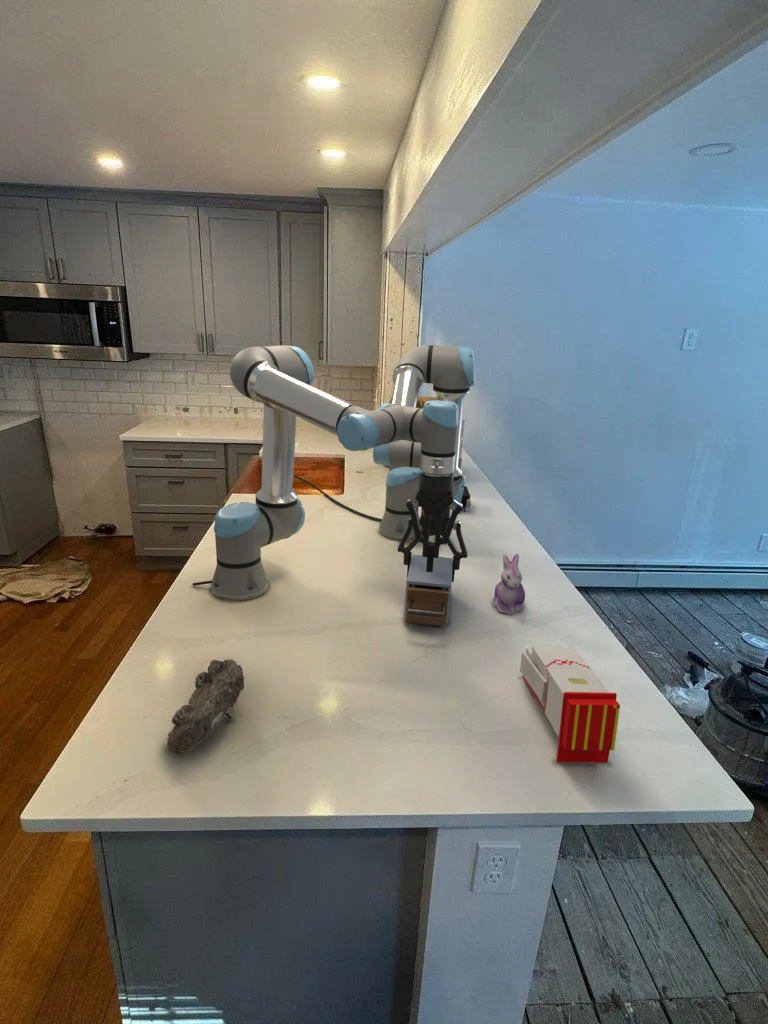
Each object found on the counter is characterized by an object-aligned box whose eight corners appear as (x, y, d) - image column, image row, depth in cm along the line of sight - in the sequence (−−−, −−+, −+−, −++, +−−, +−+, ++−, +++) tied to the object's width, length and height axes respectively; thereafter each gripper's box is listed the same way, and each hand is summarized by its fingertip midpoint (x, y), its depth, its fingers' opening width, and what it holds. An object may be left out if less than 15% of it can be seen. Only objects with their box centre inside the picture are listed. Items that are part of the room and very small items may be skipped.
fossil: (192, 660, 117) (244, 628, 112) (224, 691, 120) (276, 661, 115) (142, 746, 98) (202, 712, 93) (182, 779, 101) (242, 748, 96)
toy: (568, 628, 125) (630, 701, 96) (562, 684, 128) (620, 770, 99) (514, 627, 125) (559, 699, 96) (509, 683, 128) (551, 770, 98)
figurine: (507, 618, 147) (514, 566, 142) (483, 600, 156) (489, 550, 151) (534, 611, 152) (542, 560, 146) (510, 594, 160) (516, 545, 155)
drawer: (444, 639, 135) (447, 605, 132) (403, 635, 136) (405, 601, 133) (447, 597, 155) (450, 566, 152) (410, 593, 156) (412, 563, 153)
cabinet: (447, 624, 144) (451, 585, 140) (404, 619, 145) (406, 580, 141) (449, 594, 159) (452, 558, 155) (409, 590, 160) (412, 554, 157)
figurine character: (470, 516, 223) (465, 500, 237) (473, 499, 220) (467, 484, 233) (453, 516, 223) (449, 500, 236) (455, 498, 220) (451, 483, 233)
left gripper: (405, 474, 122) (400, 573, 130) (466, 479, 121) (457, 579, 129) (408, 466, 129) (403, 560, 137) (466, 470, 128) (457, 565, 136)
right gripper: (389, 502, 144) (385, 579, 152) (483, 510, 142) (474, 588, 149) (392, 493, 151) (388, 567, 159) (482, 500, 149) (473, 575, 156)
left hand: (429, 569), depth 133 cm, fingers closed
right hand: (430, 577), depth 154 cm, fingers closed on cabinet, 11 cm apart
